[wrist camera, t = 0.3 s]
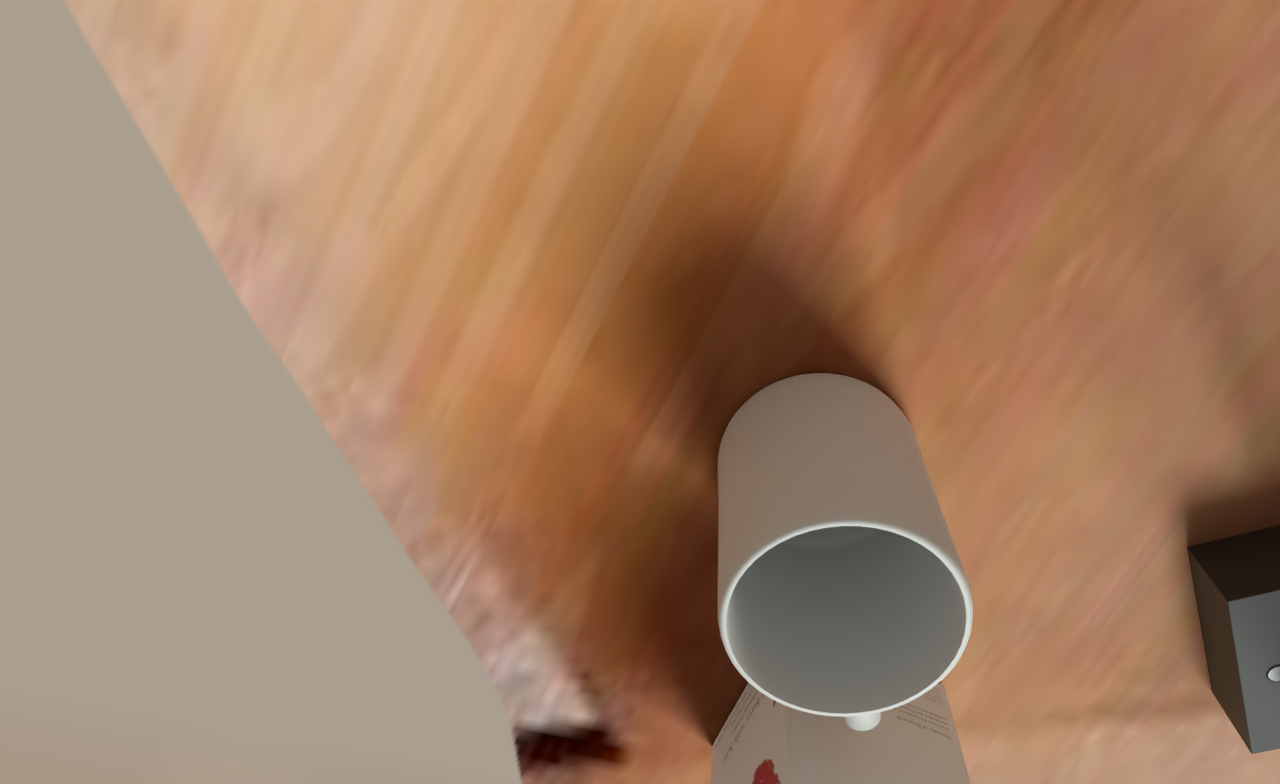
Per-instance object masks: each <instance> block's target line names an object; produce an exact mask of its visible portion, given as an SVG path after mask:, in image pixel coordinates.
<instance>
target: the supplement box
mask: <svg viewBox="0 0 1280 784" xmlns="http://www.w3.org/2000/svg"><path fill="white" fill-rule="evenodd" d="M711 784H971V783H970V779H969V776H968V772H967V769H966V765H965V761H964V757H963V754H962V750H961V747H960V743H959V739H958V735H957V732H956V728H955V725H954V721H953V717H952V714H951V710H950V706H949V703H948V699H947V695H946V691H945V688H944V686H943V685H941V684H937V685H935V686H934V687H933V688H932V689H930V690H929V691H927V692H926V693H924V694H923V695H921V696H920V697H918V698H916V699H914V700H912V701H910V702H908V703H906V704H904V705H901V706H898V707H896V708H893V709H890V710H886V711H882V712H881V719H880V721H879V724H878V725H877V726H876V727H874V728H873V729H870V730H867V731H857V730H854V729H852V728H850V727H849V726H848V725H847V724H846V723H845V721H844V718H843V717H841V716H825V715H817V714H812V713H808V712H803V711H799V710H797V709H794V708H791V707H788V706H785V705H783V704H781V703H779V702H777V701H775V700H772V699H771V698H769V697H768V696H766V695H764V694H763V693H761V692H760V691H758V690H757V689H756V688H755V687H753V686H752V685H751V684H750V683H749V682H748V684H747V686H746V688H745V689H744V691H743V693H742V695H741V696H740V698H739V700H738V702H737V703H736V705H735V707H734V708H733V710H732V712H731V714H730V715H729V717H728V719H727V721H726V722H725V724H724V726H723V727H722V729H721V731H720V733H719V734H718V736H717V738H716V740H715V742H714V744H713V745H712V768H711Z"/></svg>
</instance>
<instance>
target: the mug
mask: <svg viewBox="0 0 1280 784" xmlns="http://www.w3.org/2000/svg"><path fill="white" fill-rule="evenodd" d="M718 497H719V516H718V623H719V629H720V635H721V639H722V642H723V645H724V648H725V650H726V652H727V654H728V656H729V658H730V660H731V662H732V663H733V665H734V666H735V668H736V669H737V670H738V672H739V673H740V674H741V675H742V676H743V677H744V678H745V679H746V680H747V681H748V682H749V683H750V684H751V685H752V686H753V687H755V688H756V689H757V690H758V691H760V692H761V693H763V694H764V695H766V696H768V697H769V698H771V699H772V700H775V701H777V702H779V703H781V704H783V705H785V706H788V707H791V708H794V709H797V710H799V711H803V712H808V713H812V714H817V715H825V716H841V717H843V718H844V721H845V723H846V724H847V725H848V726H849V727H850V728H852V729H854V730H857V731H867V730H870V729H873V728H874V727H876V726H877V725H878V724H879V721H880V719H881V712H882V711H886V710H890V709H893V708H896V707H898V706H901V705H904V704H906V703H908V702H910V701H912V700H914V699H916V698H918V697H920V696H921V695H923V694H924V693H926V692H927V691H929V690H930V689H932V688H933V687H934V686H935V685H937V684H938V683H939V682H940V681H941V680H942V679H944V677H945V676H946V675H947V674H948V673H949V672H950V671H951V670H952V669H953V667H954V666H955V665H956V663H957V662H958V660H959V659H960V657H961V655H962V653H963V651H964V649H965V647H966V645H967V642H968V639H969V636H970V633H971V627H972V620H973V603H972V598H971V592H970V587H969V584H968V581H967V578H966V575H965V572H964V570H963V567H962V564H961V562H960V559H959V556H958V554H957V551H956V548H955V546H954V543H953V540H952V538H951V535H950V532H949V530H948V527H947V524H946V521H945V519H944V516H943V513H942V511H941V508H940V505H939V503H938V500H937V497H936V495H935V492H934V489H933V487H932V484H931V481H930V478H929V476H928V473H927V470H926V467H925V464H924V461H923V458H922V455H921V451H920V448H919V445H918V442H917V440H916V437H915V434H914V432H913V429H912V427H911V425H910V423H909V422H908V420H907V418H906V416H905V415H904V413H903V412H902V411H901V410H900V408H899V407H898V406H897V405H896V404H895V403H894V402H893V401H892V400H891V399H890V398H889V397H888V396H887V395H885V394H884V393H882V392H881V391H880V390H878V389H877V388H875V387H873V386H871V385H869V384H868V383H866V382H863V381H861V380H858V379H855V378H852V377H848V376H844V375H839V374H831V373H811V374H802V375H797V376H793V377H789V378H786V379H783V380H780V381H777V382H775V383H773V384H771V385H769V386H767V387H765V388H763V389H762V390H760V391H759V392H757V393H756V394H754V395H753V396H752V397H751V398H750V399H748V400H747V401H746V402H745V403H744V404H743V405H742V406H741V407H740V408H739V410H738V411H737V412H736V413H735V415H734V416H733V418H732V419H731V421H730V422H729V424H728V426H727V428H726V430H725V432H724V435H723V438H722V441H721V444H720V449H719V455H718Z"/></svg>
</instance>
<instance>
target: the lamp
mask: <svg viewBox="0 0 1280 784" xmlns="http://www.w3.org/2000/svg"><path fill="white" fill-rule="evenodd" d="M1187 549H1188V554H1189V560H1190V566H1191V572H1192V577H1193V583H1194V589H1195V594H1196V600H1197V606H1198V612H1199V617H1200V623H1201V629H1202V634H1203V640H1204V646H1205V651H1206V657H1207V663H1208V669H1209V674H1210V680H1211V686H1212V691H1213V694H1214V696H1215V697H1216V699H1217V700H1218V702H1219V703H1220V705H1221V706H1222V708H1223V710H1224V711H1225V713H1226V714H1227V716H1228V717H1229V719H1230V721H1231V722H1232V724H1233V725H1234V727H1235V728H1236V730H1237V732H1238V733H1239V735H1240V736H1241V738H1242V739H1243V741H1244V742H1245V744H1246V746H1247V747H1248V749H1249V750H1250V752H1251V753H1252V754H1253V753H1259V752H1264V751H1269V750H1274V749H1280V526H1276V527H1272V528H1268V529H1264V530H1259V531H1255V532H1251V533H1247V534H1243V535H1239V536H1234V537H1230V538H1226V539H1222V540H1218V541H1214V542H1209V543H1205V544H1201V545H1197V546H1193V547H1189V548H1187Z"/></svg>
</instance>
